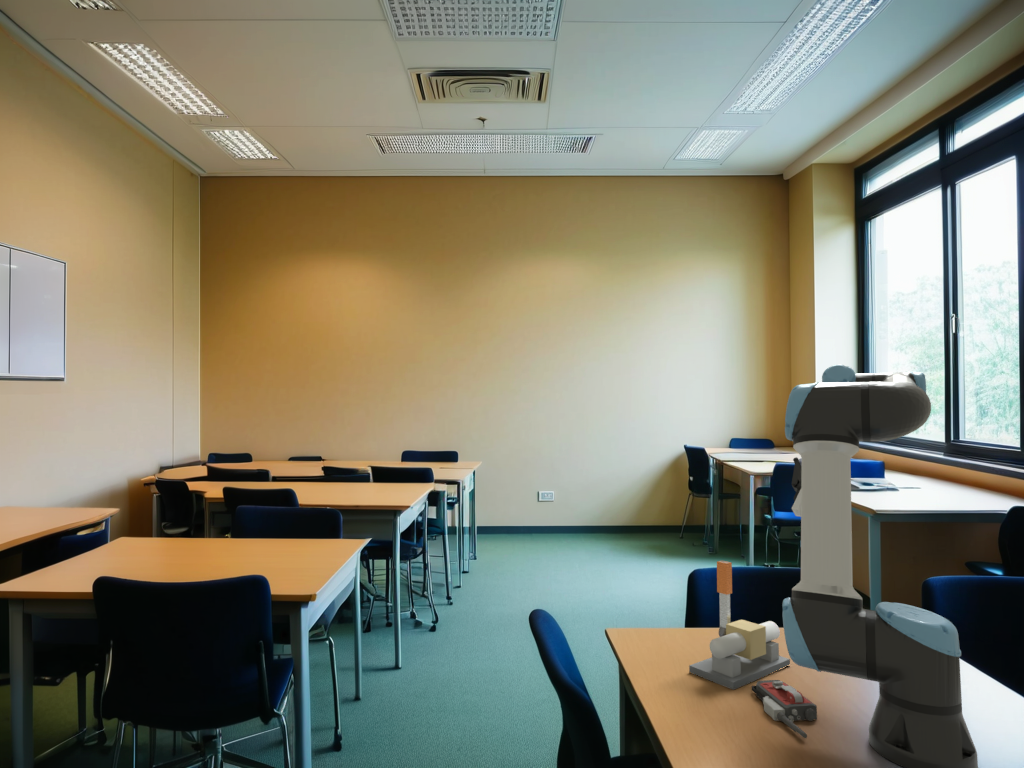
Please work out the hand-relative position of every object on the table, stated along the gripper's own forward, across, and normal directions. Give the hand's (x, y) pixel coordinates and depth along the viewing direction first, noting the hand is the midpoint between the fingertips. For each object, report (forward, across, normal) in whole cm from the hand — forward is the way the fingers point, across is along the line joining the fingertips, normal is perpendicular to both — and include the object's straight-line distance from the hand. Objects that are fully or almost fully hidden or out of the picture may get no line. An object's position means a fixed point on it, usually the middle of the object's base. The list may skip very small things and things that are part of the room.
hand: (796, 512), depth 146 cm
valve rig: (+36, +5, -12) cm, 38 cm away
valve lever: (+32, +8, -8) cm, 34 cm away
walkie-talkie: (+45, -14, -4) cm, 47 cm away
